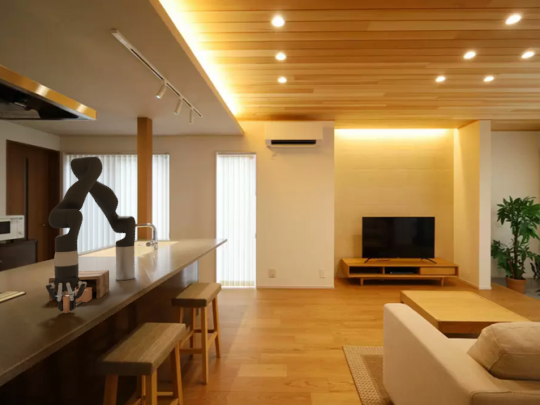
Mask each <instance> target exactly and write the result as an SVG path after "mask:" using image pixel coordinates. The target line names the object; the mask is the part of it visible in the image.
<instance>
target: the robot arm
mask: <svg viewBox="0 0 540 405" xmlns="http://www.w3.org/2000/svg"><path fill="white" fill-rule="evenodd" d="M103 167H104V166H103V162H102V161H101V159H100V157H99V156H96V155H87V156H79V157H74V158H72V159H71V161H70V170H71V172H72V173H73V175H74V176H75V178H76V179H77V180H76V181H75V182H74V183H72V184H71V185H70V186H69V187H68V189H67V191H66V192H65V194H64V195H63V196H64V197H63V198H62V200H60V201H59V203H58V204H57V205H55V207H54V208H53V209H52V210H51V211H50V213H49V215H48V223H49V226H50V227H52V228H53V229H68V232H67V233H65V234H59V235H57V236H56V237H55V238H54V252H55V253H54V259H53V260H54V261H53V262H54V263H53V265H54V268H53V269H54V276H55V280H54V282H53V283H50V284H49V283H48V284H47V285H45V288H46V290H47V292H48V295H49V294H50V296H51V298H52V300H53V301H55V300H56V301H57V303H58V305H57V308H58V311H59V312H63V296H64V295H65V292H66V291H68V294H69V296H70V300H71V301H70V311H71V312H72V311H74V310H75V309H76V307H77V306H76V299H78V298H79V297H81V296H82V294H83V292H84V290H85V287H86V285H87V282H82V281H80V279H79V277H78V275H79V271H80V270H79V269H80V268H79V267H80V266H79V265H80V264H79V253H78V252H79V251H78V247H79V246H78V241H79V240H78V239H79V233H80V230H81V227H82V225H83V224H82V223H83V220H84V217H83V215H84V214H83V213H82V211H81V209H82V208H83V207H84V204H85V201H86V198H87V196H88V194H90V195H91V197H92V198H93V201H94V202H95V203H96V205H97V206H98V208H99V209H100V210H101V212H102V213H103V214H104V216H105V218H106V219H107V222H108V224H109V226H110V227H111V229H112V231H113V232H114V233H116V234H124V237H123V238H121V239H118V240H116V241H115V279H116V280H118V281H123V280H124V281H125V280H132V279H135V277H136V274H135V273H136V271H135V270H136V269H135V268H136V267H135V265H136V264H135V263H136V260H135V258H136V257H135V256H136V255H135V253H136V252H135V250H136V248H135V242H136V222H137V221H136V219H135V217H134V216H133V215H119V214H118V213H117V208H118V205H119V199H118V197H117V195H116V193H115V192H114V191H113V189H112V188H111V187H109V186H108V185H106V184H104V183H102V182H100V181H99V180H98V179H99V178H100V176H101V175H102V173H103ZM78 284H79V290H78V292H77V294H76V288H75V287H76V286H77V285H78ZM55 286H56V287H57V288H58V294H57V292H56V290H55Z"/></svg>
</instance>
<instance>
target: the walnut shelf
mask: <svg viewBox="0 0 540 405" xmlns="http://www.w3.org/2000/svg"><path fill="white" fill-rule="evenodd" d="M78 277H79V279H80V281H82V282H87V285H86V287H92V293H96V299H101V298H102V297H104V296H105V295H106V294H107V293H109V291H110V270H109V269H105V270H83V271H82V270H81V271H80V270H79V275H78ZM54 280H55V275H53V276H51V277H49V278H48V284H50V283H53V282H54ZM75 288H76V290H77V289H78V288H79V284H78V285H77V286H76V287H75ZM55 290H56V292H57V294H58V288H57V287H56V286H55ZM105 293H106V294H105ZM100 297H101V298H100ZM48 301H49V302H51V301H52V302H53V301H54V300H52V298H51V296H50V294H49V293H48Z"/></svg>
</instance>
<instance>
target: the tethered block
mask: <svg viewBox="0 0 540 405" xmlns="http://www.w3.org/2000/svg"><path fill="white" fill-rule="evenodd" d="M78 290H79V288H78V289H77V290H76V294H77V292H78ZM92 299H93V292H92V287H85V290H84V292H83V294H82V296H81V297H79V298H78V299H76V307H78V306H79V305H80V304H82V303H88V302H89V301H91V300H92ZM70 301H71V300H70V296H69V295H65V296H63V311H62V313H63V314H69V313H71V312H72V311H70Z"/></svg>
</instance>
